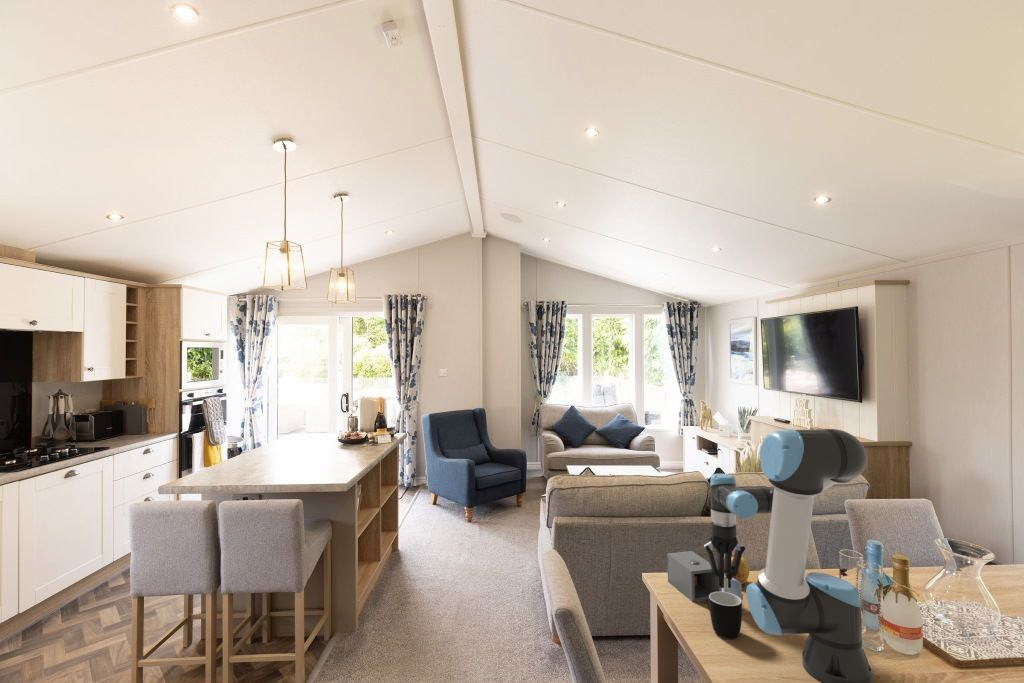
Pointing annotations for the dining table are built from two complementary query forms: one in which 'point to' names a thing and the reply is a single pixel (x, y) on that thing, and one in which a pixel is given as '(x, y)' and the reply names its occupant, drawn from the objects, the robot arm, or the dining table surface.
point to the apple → (740, 570)
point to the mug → (725, 614)
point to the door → (733, 588)
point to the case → (691, 575)
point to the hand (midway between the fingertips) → (725, 597)
